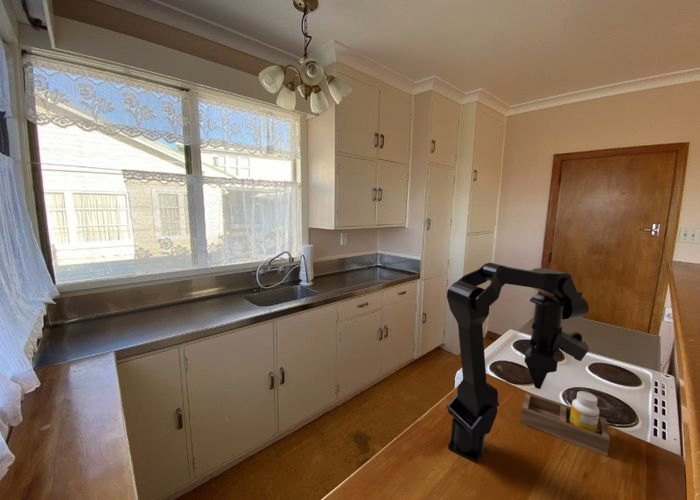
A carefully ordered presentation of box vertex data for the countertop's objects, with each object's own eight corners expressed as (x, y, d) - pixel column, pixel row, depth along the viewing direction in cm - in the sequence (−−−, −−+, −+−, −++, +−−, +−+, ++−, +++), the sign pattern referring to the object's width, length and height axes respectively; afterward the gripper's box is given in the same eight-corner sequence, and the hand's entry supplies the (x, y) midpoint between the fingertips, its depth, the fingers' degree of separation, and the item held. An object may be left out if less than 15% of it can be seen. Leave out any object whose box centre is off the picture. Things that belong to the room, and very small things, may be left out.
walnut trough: (607, 456, 70) (609, 440, 69) (520, 422, 80) (521, 409, 79) (603, 432, 77) (606, 418, 77) (524, 404, 87) (526, 391, 87)
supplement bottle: (567, 421, 80) (572, 386, 78) (593, 429, 77) (599, 393, 76) (569, 434, 75) (575, 397, 74) (597, 443, 72) (603, 405, 71)
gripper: (590, 343, 62) (579, 412, 65) (587, 318, 77) (578, 375, 80) (528, 329, 69) (520, 392, 71) (536, 308, 84) (529, 361, 86)
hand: (539, 379), depth 77 cm, fingers open, 9 cm apart
